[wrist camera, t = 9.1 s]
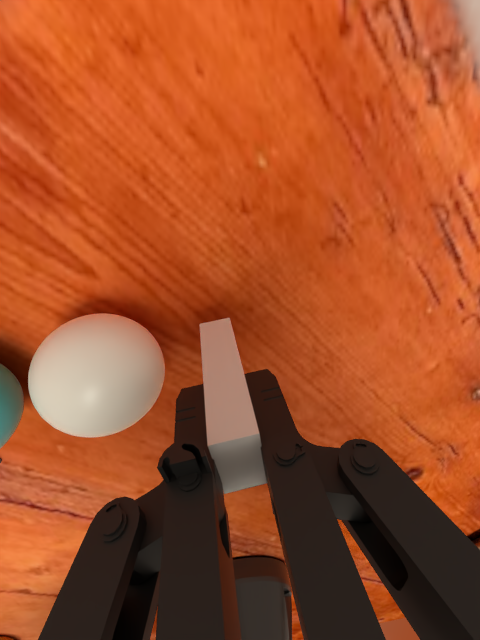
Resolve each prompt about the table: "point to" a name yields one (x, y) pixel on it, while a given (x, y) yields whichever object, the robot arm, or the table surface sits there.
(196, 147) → the table surface
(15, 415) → the teal ball
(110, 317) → the cue ball
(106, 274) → the table surface
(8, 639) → the decorated donut
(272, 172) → the table surface
